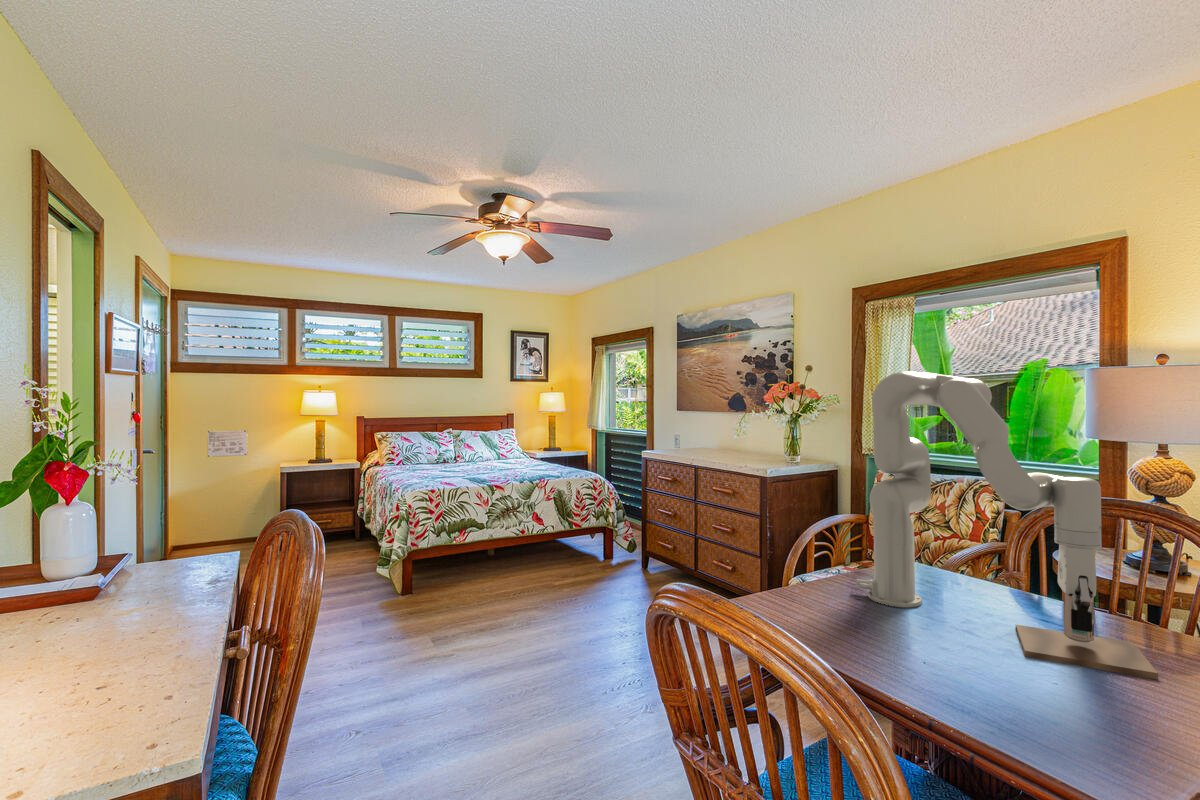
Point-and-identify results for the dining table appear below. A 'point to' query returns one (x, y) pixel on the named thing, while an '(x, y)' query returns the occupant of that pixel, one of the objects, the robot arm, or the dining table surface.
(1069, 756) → the dining table surface
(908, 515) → the robot arm
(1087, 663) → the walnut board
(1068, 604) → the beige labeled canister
